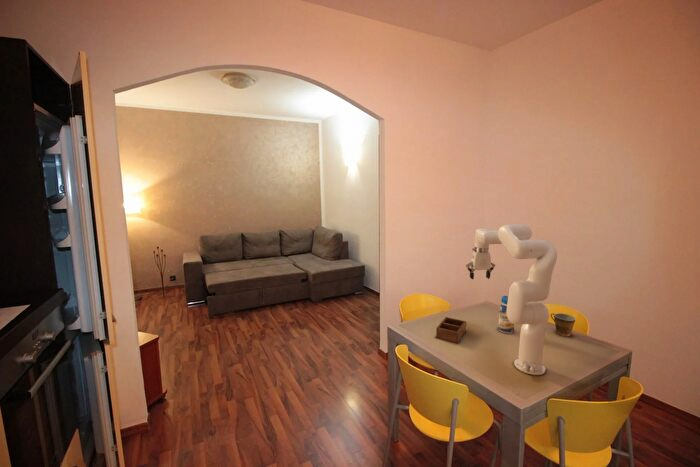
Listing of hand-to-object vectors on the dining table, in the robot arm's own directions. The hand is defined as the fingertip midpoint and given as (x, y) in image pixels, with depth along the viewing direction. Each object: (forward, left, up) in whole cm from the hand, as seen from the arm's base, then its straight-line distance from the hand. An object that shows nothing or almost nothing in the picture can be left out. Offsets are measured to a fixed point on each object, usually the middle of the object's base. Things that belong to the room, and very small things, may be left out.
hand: (479, 278), depth 188 cm
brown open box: (-29, +10, -26) cm, 40 cm away
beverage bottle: (+2, -15, -30) cm, 33 cm away
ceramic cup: (+16, -42, -30) cm, 53 cm away
